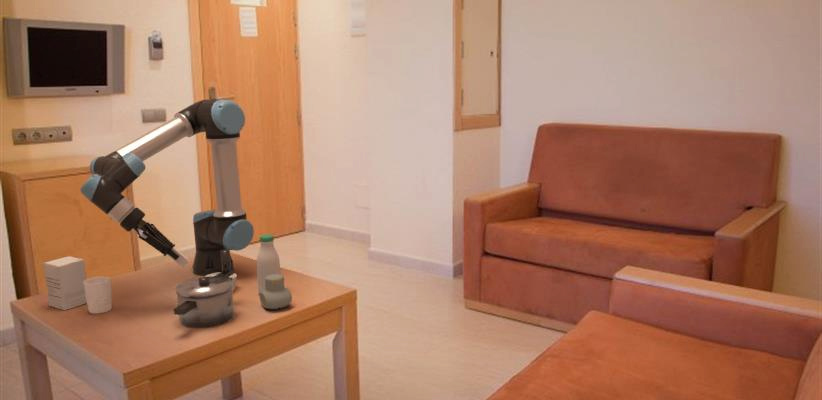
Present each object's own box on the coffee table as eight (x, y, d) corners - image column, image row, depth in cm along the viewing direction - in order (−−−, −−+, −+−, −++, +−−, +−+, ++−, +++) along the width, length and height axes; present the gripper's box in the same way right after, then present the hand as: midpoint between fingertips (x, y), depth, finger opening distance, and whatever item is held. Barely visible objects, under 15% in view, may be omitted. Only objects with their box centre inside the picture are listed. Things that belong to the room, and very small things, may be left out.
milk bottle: (283, 294, 221) (280, 237, 217) (260, 297, 218) (256, 239, 215) (279, 287, 228) (275, 232, 224) (256, 290, 225) (253, 234, 222)
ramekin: (236, 284, 233) (235, 270, 232) (239, 293, 223) (238, 278, 222) (203, 288, 230) (202, 273, 229) (205, 298, 219) (203, 283, 218)
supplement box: (74, 298, 222) (69, 255, 219) (90, 302, 217) (85, 258, 214) (48, 306, 214) (42, 262, 211) (64, 311, 210) (58, 266, 207)
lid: (214, 299, 189) (212, 271, 188) (164, 296, 193) (161, 268, 192) (253, 275, 212) (251, 249, 210) (207, 272, 216) (205, 247, 214)
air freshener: (294, 309, 207) (292, 278, 205) (268, 314, 203) (266, 283, 201) (283, 299, 217) (281, 270, 215) (258, 303, 213) (256, 274, 211)
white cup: (103, 315, 205) (99, 284, 203) (81, 313, 207) (77, 283, 205) (119, 306, 213) (115, 276, 211) (97, 305, 214) (94, 275, 212)
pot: (206, 338, 185) (204, 308, 183) (155, 335, 188) (152, 305, 187) (252, 302, 213) (250, 276, 212) (207, 300, 217) (205, 274, 215)
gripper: (124, 219, 211) (181, 267, 216) (113, 228, 198) (174, 278, 204) (140, 203, 211) (197, 250, 216) (130, 210, 198) (191, 260, 204)
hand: (186, 264), depth 210 cm, fingers closed
